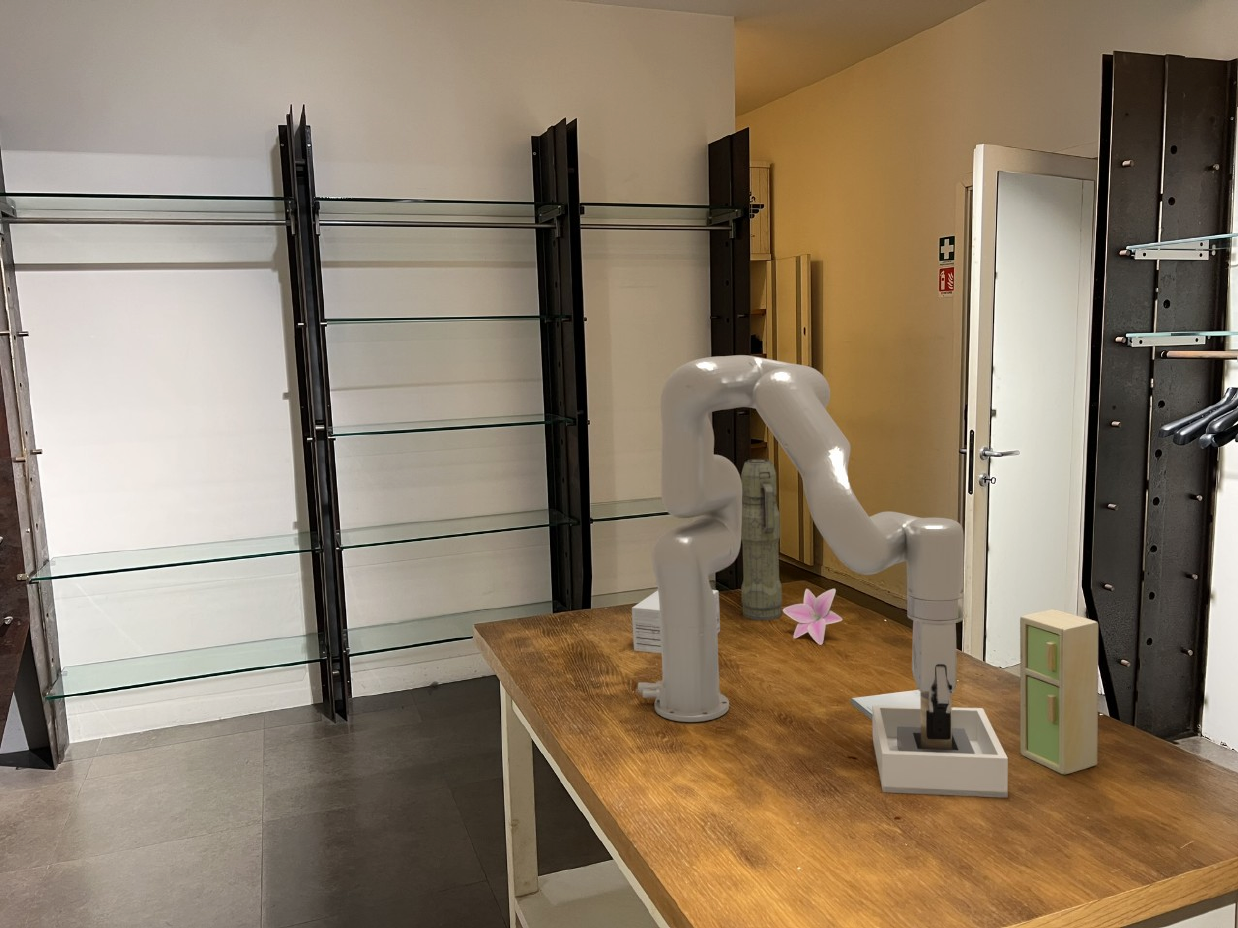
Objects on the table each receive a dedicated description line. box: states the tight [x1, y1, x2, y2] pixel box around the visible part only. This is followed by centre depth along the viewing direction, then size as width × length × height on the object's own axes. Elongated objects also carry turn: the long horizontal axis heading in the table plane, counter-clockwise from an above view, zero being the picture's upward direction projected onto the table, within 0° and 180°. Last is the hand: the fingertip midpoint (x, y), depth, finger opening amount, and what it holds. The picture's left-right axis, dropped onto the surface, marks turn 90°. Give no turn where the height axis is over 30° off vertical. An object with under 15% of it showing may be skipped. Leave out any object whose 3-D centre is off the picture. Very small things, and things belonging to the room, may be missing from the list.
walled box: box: [872, 705, 1009, 799], centre depth 134 cm, size 16×17×6 cm
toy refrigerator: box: [1019, 608, 1099, 775], centre depth 133 cm, size 8×7×21 cm
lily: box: [782, 588, 843, 646], centre depth 194 cm, size 12×12×10 cm
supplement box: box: [631, 589, 721, 654], centre depth 195 cm, size 17×13×9 cm
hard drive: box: [850, 689, 921, 722], centre depth 156 cm, size 2×8×12 cm
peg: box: [920, 686, 953, 750], centre depth 133 cm, size 4×4×10 cm
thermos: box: [740, 458, 783, 621], centre depth 209 cm, size 9×12×35 cm
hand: (936, 729), depth 133 cm, fingers closed on peg, 4 cm apart
